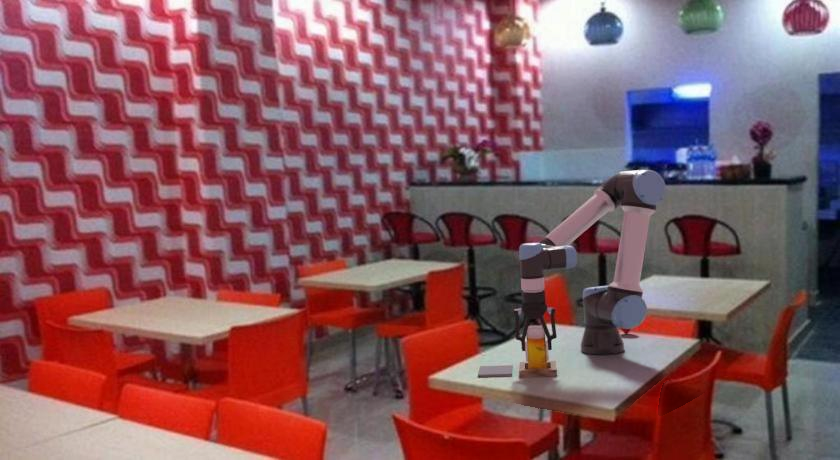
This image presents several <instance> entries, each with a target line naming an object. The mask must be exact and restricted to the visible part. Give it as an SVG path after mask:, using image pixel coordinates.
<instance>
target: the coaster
mask: <svg viewBox="0 0 840 460" xmlns="http://www.w3.org/2000/svg"><path fill="white" fill-rule="evenodd" d="M478 369H479V370H478V372H477V377H478V378H480V377H479V376H482V377H481V378H491V377H492V376H494V377H492V378H495V376H497V377H498V376H500V377H512V376H513V365H512V364H509V365H508V364H507V365H506V364H505V365H481V366H479V368H478ZM486 376H487V377H486Z"/></svg>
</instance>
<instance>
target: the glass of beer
mask: <svg viewBox="0 0 840 460" xmlns="http://www.w3.org/2000/svg"><path fill="white" fill-rule="evenodd" d="M545 339H546V334H545V332H544V329H543V326H542V324H541V325H540V324H534V325H532V324H531V325H529V326H528V330H527V334H526V340H527V346H528V369H548V368H547V359H546V343H545Z"/></svg>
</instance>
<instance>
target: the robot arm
mask: <svg viewBox="0 0 840 460" xmlns="http://www.w3.org/2000/svg"><path fill="white" fill-rule="evenodd" d="M666 190H667V187H666V183H665V180H664V178H663V177H662V175H660V173H658V172H657V171H655V170H652V169H636V170H622V171H619V172H617V173H615V174H614V175H612V176H611V177H609V178H608V179H607V180H605V181H604V182H603V183H602V184H601V185H600V186H598V187H597V188H596V189H595V190H594V192H593V195H592V196H591V197H590V198H589V199H588V200H586V201H585V202H584V203H583V204H581V205H580V206H579V207H578V208H577V209H576V210H575V211H574V212H573V213H571V214H570V215H569V216H568V217H567V218H566V219H564V220H563V221H562V222H561V223H559V224H558V225H557V226H556V227H555V228H554V229H552V230H551V231H550V232H549V233H548V234H547V235H545V236H544V237H543V238H542V239H541V240H539V241H538V242H525V243H522V244H520V246H519V249H518V250H519V251H518V254H519V255H518V257H519V259H518V260H519V267H520V268H519V271H520V282H521V283H520V287H521V289H520V290H522V292H521V297H522V298H521V300H522V301H521V303H522V305H521V307H520V308H515V309H514V310H513V315H514V317H515V340H516V341H520V343H521V351H522V352H525V362H528V346H527V337H526V334H527V330H528V326H530V322H531V320H539V321H540V323H541V325H542V326H543V329H544V332H545V343H546V359H547V361H550V358H549V356H550V355H549V351H552V348H553V347H552V346H553V343H552V341H553V340H554V339H557V328H556V319H555V314H556V308H555V307H549V306H548V305H547V303H546V301H547V300H546V291H545V273H544V272H548V271H554V270H556V271H557V270H563V269H564V270H567V269H572V268H574V267H575V266H576V265H577V263H578V252H577V250H576V248H575V247H574V246H572V245H571V244H572V243H573V242H575V240H576V239H577V238H579V237H580V236H581V235H582V234H583V233H585V231H587V230H588V229H589V228H590V227H592V226H593V225H594V224H596V222H597V221H599V219H601V218H602V217H603V216H604V215H606V214H607V213H608V212H613V211H615V210H616V209H617V208H619V207H620V208H621V209H622V211H623V218H622V219H623V220H622V225H621V226H622V227H621V230H620V231H621V232H620V239H619V243H618V251H617V257H616V263H615V269H614V270H615V271H614V275H613V276H614V277H613V281H612V282H611V283H609V284H608V285H599V286H591V287H586V288H584V289H583V291H582V307H583V308H582V309H583V320H584V331H583V333H582V334H583V335H582V338H581V342H580V351H581V352H582V353H584V354H588V355H599V356H600V355H601V356H603V355H615V354H618V353H622V352H624V351H625V343H624V341H623V338H622V335H621V332H620V330H619V329H620V328H623V329H631V330H632V329H635V328H637V327H638V326H640V325H641V324H642V323H643V322H644V321H645V318H646V316H647V313H648V307H647V303H646V301H645V300H644V299H643V294H644V293H643V292H644V290H643V289H642V288H641V286H640V284H641V278H642V277H641V276H642V272H643V271H642V270H643V263H644V257H645V251H646V245H647V240H648V239H647V238H648V232H649V226H650V219H651V216H652V215H653V214H654V213H656V211H657V205H658V204H660V203H661V201H663V199H664V198H665V196H666V192H667V191H666ZM546 312H548V314H549V315H550V324H551V325H550V326H551V334H550V331H549V328H548V326H547V323H546V320H545V317H544V315H545V314H546ZM522 313H523V315H525V316H526V318H525V322H524V326H523V330H522V334H521V335H520V316H521V314H522ZM546 338H547V339H546Z"/></svg>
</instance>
